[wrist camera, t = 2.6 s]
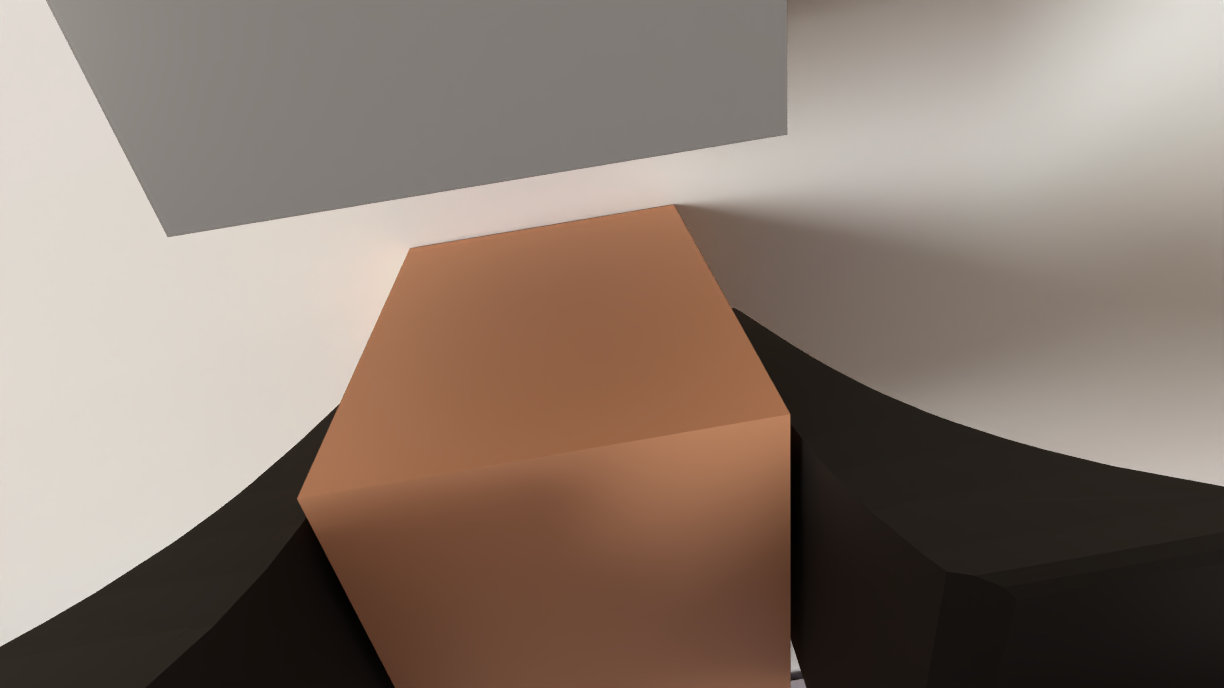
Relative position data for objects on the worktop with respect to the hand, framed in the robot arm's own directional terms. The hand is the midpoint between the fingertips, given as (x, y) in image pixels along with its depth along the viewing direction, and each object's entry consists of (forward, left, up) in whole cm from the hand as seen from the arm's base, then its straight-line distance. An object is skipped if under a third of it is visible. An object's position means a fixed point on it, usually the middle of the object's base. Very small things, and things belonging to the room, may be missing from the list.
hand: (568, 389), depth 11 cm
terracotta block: (0, 0, -2) cm, 2 cm away
